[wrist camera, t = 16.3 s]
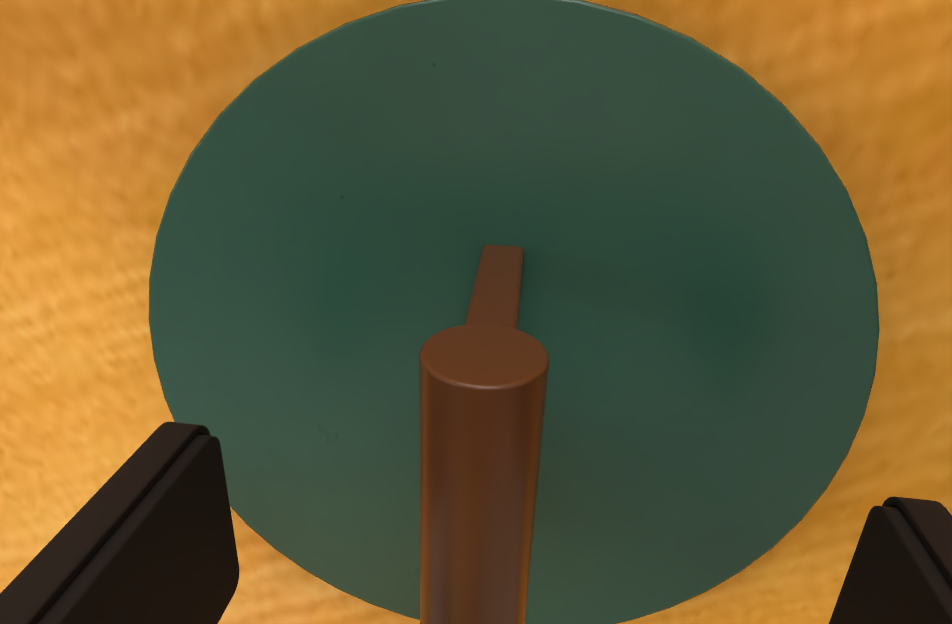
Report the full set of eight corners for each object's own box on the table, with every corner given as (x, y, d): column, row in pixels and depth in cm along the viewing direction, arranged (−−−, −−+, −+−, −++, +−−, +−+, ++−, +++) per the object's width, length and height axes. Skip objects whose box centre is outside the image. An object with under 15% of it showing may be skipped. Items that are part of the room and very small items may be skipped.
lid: (222, 567, 17) (79, 825, 12) (115, -24, 11) (-263, -30, 6) (765, 622, 16) (870, 929, 11) (961, 8, 10) (1393, 34, 5)
